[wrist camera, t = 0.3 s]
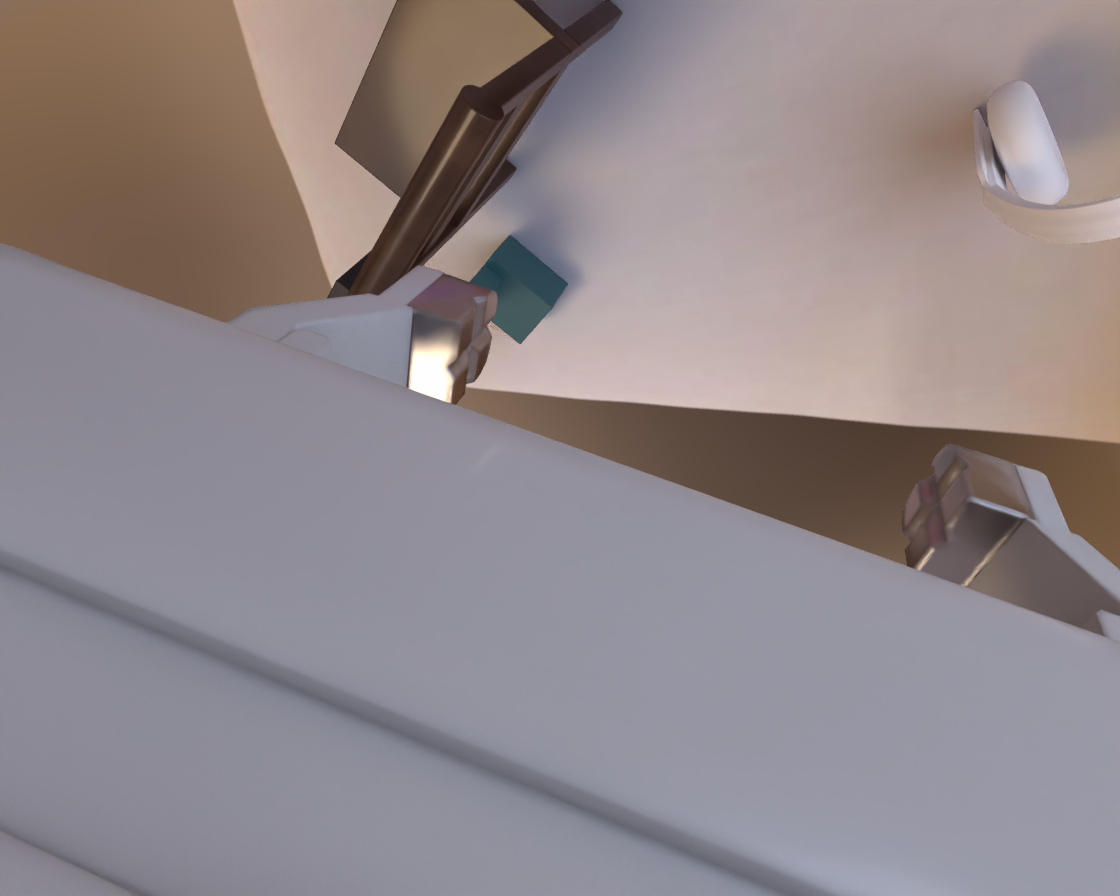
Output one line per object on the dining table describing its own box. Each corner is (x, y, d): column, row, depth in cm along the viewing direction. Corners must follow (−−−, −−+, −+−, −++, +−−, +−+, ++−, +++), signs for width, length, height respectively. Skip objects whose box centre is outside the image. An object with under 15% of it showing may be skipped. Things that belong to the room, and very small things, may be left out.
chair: (628, 17, 44) (493, 126, 29) (513, 183, 54) (364, 334, 38) (508, -98, 42) (295, -47, 27) (411, 96, 52) (211, 217, 36)
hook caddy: (568, 283, 58) (495, 394, 47) (536, 320, 61) (461, 431, 50) (447, 181, 55) (340, 272, 44) (420, 224, 59) (315, 319, 48)
